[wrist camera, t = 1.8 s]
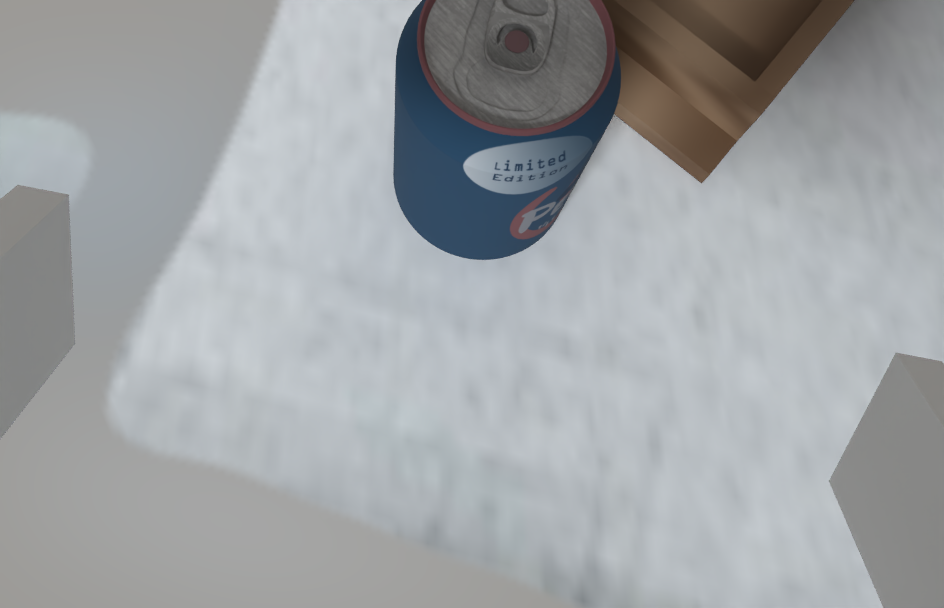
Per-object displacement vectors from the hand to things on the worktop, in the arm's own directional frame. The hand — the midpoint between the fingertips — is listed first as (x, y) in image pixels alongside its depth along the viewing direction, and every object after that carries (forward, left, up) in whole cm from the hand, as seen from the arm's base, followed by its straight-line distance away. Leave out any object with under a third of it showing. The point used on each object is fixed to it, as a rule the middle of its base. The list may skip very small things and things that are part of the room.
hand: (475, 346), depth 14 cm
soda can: (+5, -9, -21) cm, 24 cm away
